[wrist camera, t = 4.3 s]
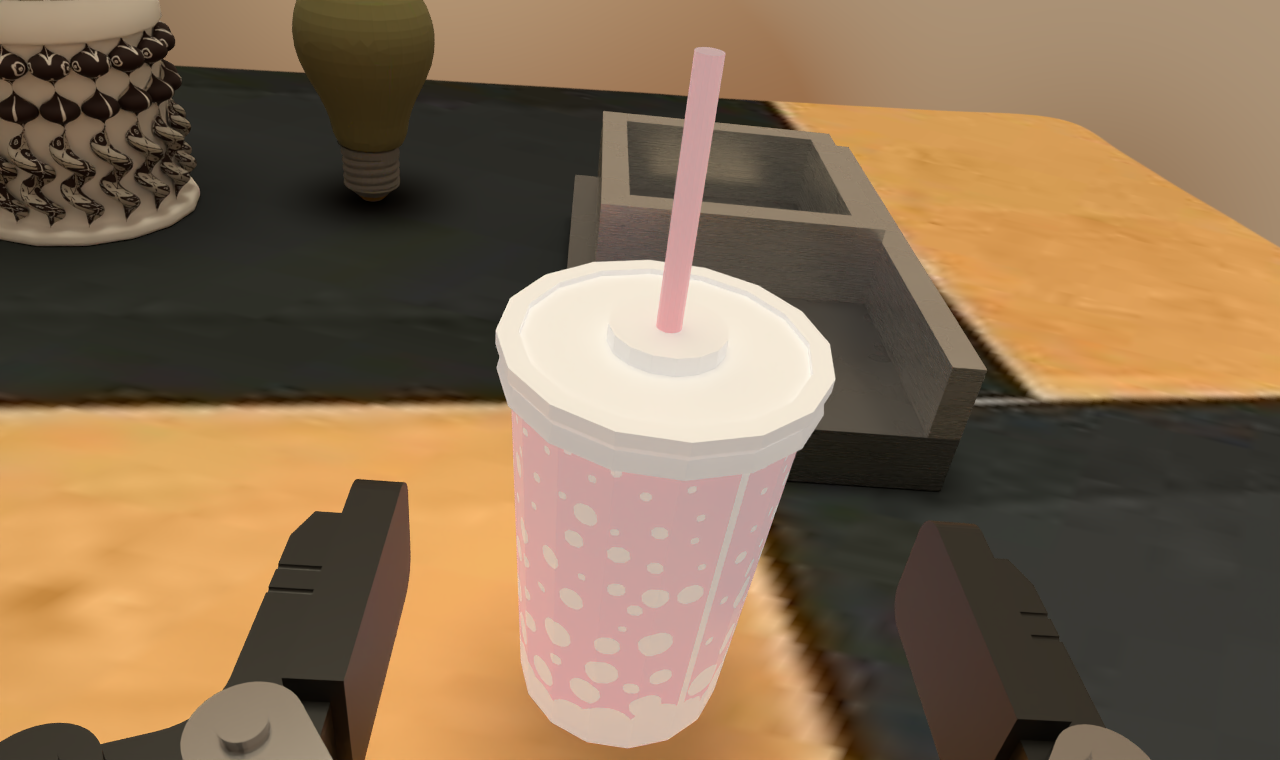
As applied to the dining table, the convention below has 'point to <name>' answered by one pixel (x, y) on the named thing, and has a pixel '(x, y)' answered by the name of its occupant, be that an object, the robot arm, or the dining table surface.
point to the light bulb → (366, 79)
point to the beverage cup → (649, 463)
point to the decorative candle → (89, 123)
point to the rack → (803, 282)
